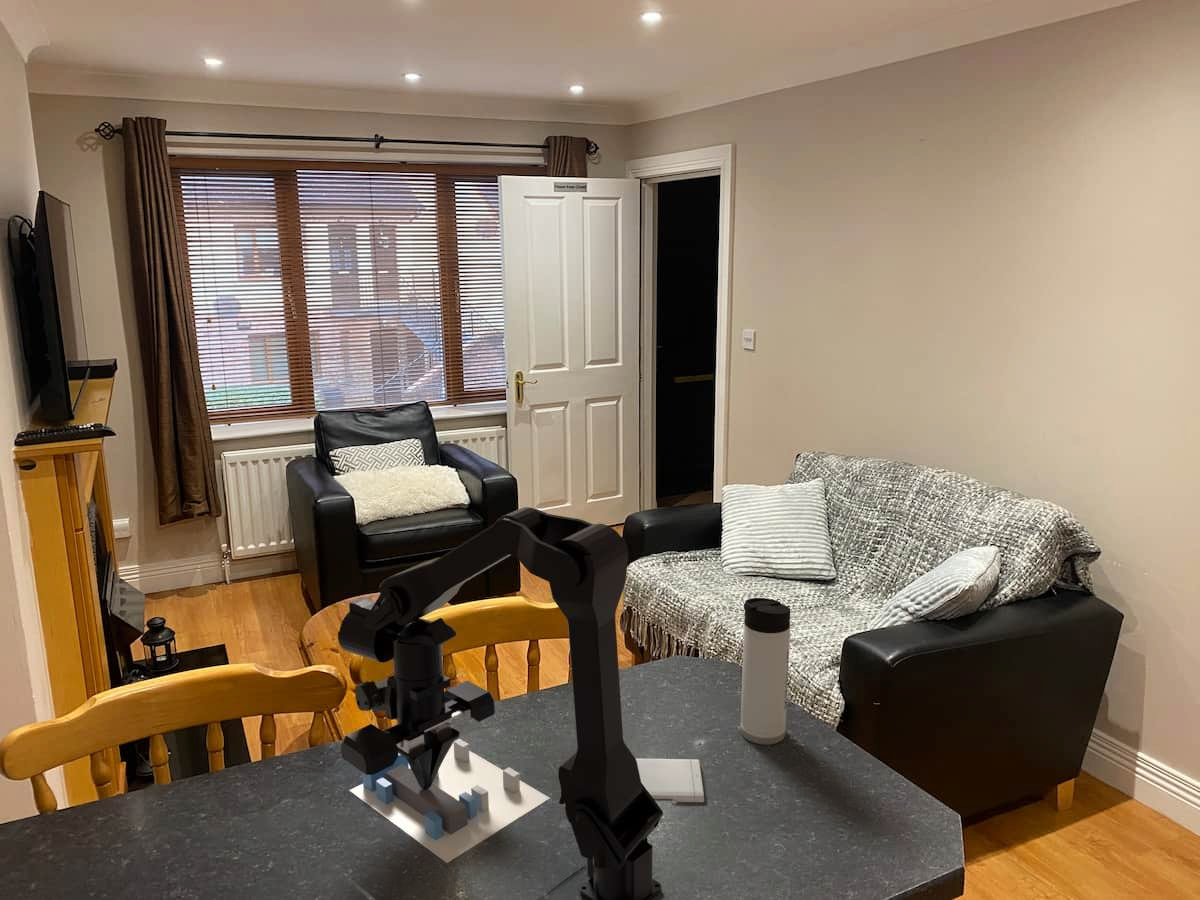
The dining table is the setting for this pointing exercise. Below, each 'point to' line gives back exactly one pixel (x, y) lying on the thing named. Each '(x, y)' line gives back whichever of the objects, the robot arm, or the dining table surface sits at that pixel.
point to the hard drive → (672, 779)
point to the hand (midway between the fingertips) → (425, 787)
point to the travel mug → (765, 670)
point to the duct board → (470, 782)
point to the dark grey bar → (427, 799)
